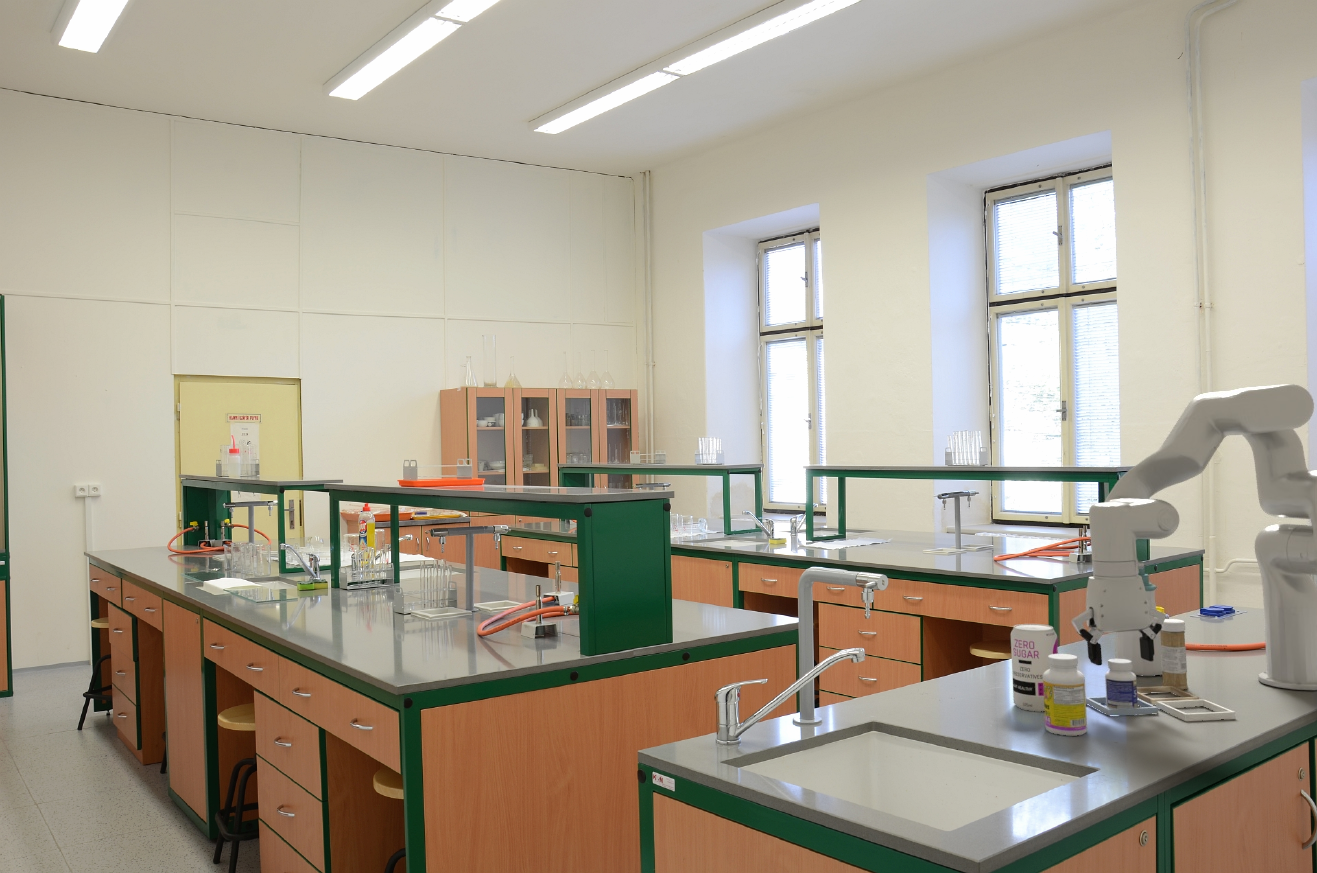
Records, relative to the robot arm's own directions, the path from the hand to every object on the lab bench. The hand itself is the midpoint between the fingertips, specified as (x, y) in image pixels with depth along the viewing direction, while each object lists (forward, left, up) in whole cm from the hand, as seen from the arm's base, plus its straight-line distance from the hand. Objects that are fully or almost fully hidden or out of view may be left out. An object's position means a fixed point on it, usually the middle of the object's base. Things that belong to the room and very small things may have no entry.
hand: (1121, 661), depth 177 cm
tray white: (-10, +5, -9) cm, 14 cm away
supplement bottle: (+17, +12, -9) cm, 23 cm away
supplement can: (+15, -4, -9) cm, 18 cm away
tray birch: (-10, -5, -9) cm, 14 cm away
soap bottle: (-18, -27, -9) cm, 34 cm away
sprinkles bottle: (-17, -13, -9) cm, 23 cm away
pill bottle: (0, 0, -9) cm, 9 cm away
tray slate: (+1, 0, -9) cm, 9 cm away
